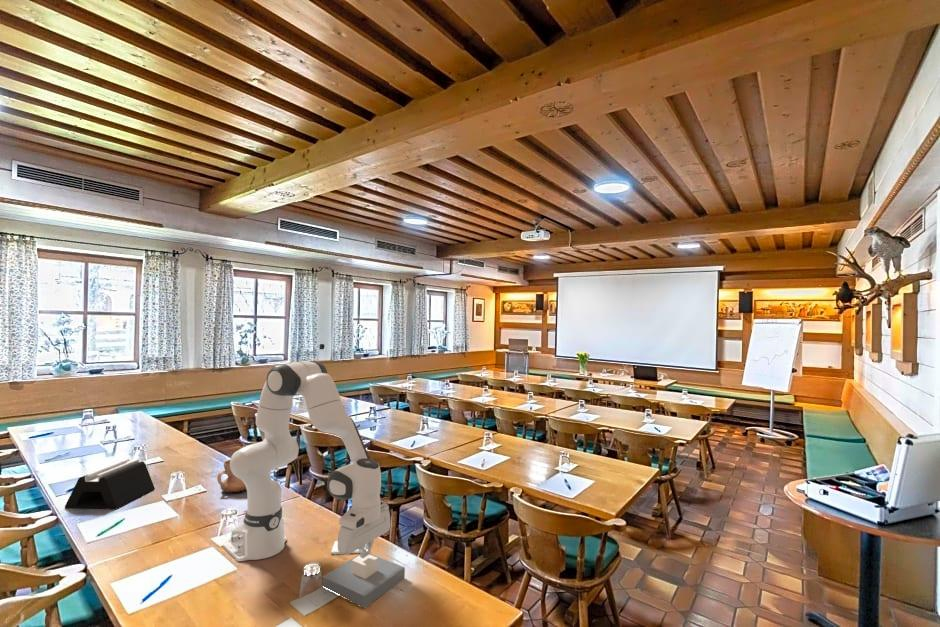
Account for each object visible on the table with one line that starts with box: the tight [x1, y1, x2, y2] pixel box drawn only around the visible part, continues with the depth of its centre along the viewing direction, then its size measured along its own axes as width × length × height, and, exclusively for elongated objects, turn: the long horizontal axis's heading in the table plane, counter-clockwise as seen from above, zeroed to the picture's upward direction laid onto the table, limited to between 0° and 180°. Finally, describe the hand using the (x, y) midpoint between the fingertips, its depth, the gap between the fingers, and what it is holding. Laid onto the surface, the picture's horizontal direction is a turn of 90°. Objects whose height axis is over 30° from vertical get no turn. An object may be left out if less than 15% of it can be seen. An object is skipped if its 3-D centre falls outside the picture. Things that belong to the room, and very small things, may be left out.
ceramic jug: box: [216, 458, 247, 494], centre depth 212 cm, size 18×14×14 cm
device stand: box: [64, 458, 156, 511], centre depth 198 cm, size 22×22×15 cm
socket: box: [321, 554, 406, 609], centre depth 138 cm, size 18×18×4 cm
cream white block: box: [351, 554, 378, 579], centre depth 138 cm, size 6×6×8 cm
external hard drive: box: [330, 540, 366, 555], centre depth 159 cm, size 2×8×12 cm
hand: (365, 556), depth 138 cm, fingers closed
